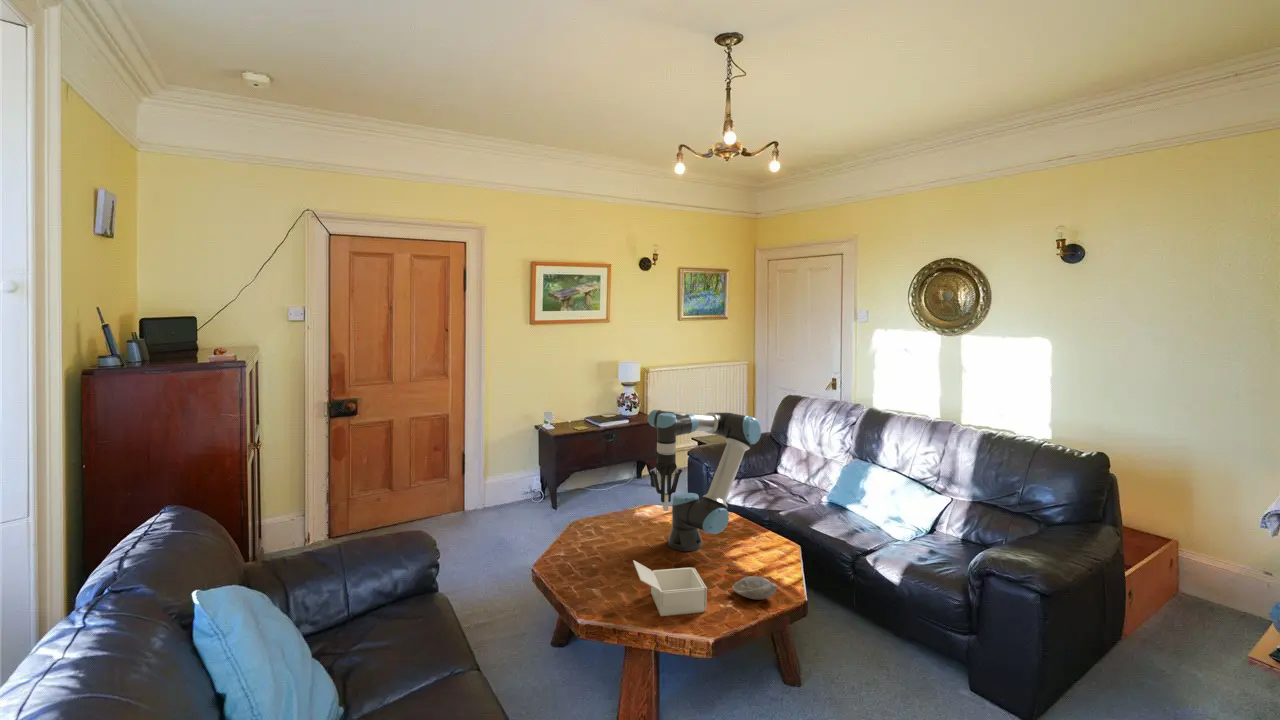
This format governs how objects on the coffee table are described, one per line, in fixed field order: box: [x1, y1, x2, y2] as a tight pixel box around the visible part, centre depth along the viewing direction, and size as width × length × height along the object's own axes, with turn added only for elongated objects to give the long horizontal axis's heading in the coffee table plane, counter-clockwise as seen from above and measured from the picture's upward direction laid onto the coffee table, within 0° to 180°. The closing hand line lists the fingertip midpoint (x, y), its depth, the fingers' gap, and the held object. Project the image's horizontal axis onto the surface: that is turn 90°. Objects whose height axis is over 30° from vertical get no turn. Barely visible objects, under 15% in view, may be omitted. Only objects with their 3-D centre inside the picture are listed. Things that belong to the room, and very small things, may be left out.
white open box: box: [650, 567, 708, 617], centre depth 218 cm, size 17×18×9 cm
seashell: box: [731, 575, 778, 600], centre depth 222 cm, size 9×12×15 cm
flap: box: [632, 559, 660, 591], centre depth 215 cm, size 8×16×1 cm
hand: (665, 509), depth 239 cm, fingers closed
